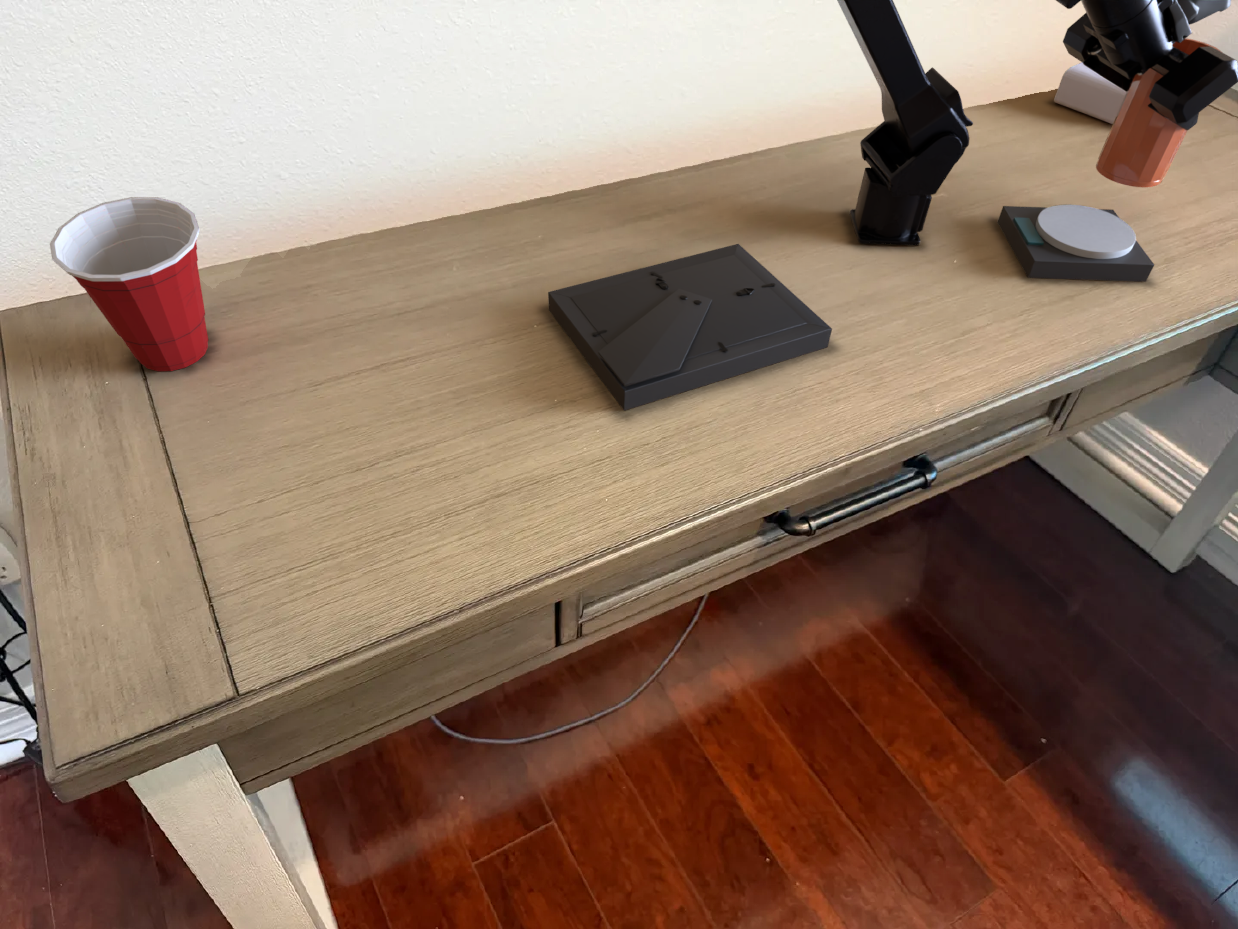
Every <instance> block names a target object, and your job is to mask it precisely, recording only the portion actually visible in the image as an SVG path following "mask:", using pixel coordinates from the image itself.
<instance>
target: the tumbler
mask: <svg viewBox="0 0 1238 929" xmlns="http://www.w3.org/2000/svg"><path fill="white" fill-rule="evenodd" d="M1173 46H1174V47H1176V48H1177V49H1179V50H1181V51H1183V52H1184V53H1186V54H1188V55H1190V54H1191V53H1192V52H1194V51H1195V50H1196V49H1197V48H1199V47H1209V46H1211V47H1213V48H1215V49H1217V50H1218V51H1220V52H1222V53H1224V52H1223V51H1221V50H1220V49H1219V48H1218V47H1216V46H1214V45H1211V44H1209V43H1207V42H1204V41H1200V40H1196V39H1194V38H1193V39H1192V38H1188V37H1187V38H1185V39H1184V40H1183V41H1182V42H1180V43H1178V42H1177V41H1176V42H1175V43H1174V44H1173ZM1161 77H1163V76H1162V75H1161V74H1159V73H1157V72H1156V71H1154V70H1152V69H1151V68H1150V69H1149V70H1148V71H1147V72H1146V73H1144V74H1143V75H1138V74H1136V75H1135V76H1134V77H1133V78H1132V81H1131V83H1130V85H1129V88H1128V90H1127V92H1126V95H1125V97H1124V99H1123V102H1122V104H1121V106H1120V109H1119V111H1118V113H1117V116H1116V118H1115V120H1114V123H1113V124H1111V128H1110V129H1109V132H1108V135H1107V137H1106V139H1105V141H1104V143H1103V147H1102V148H1101V151H1100V153H1099V156H1098V158H1097V161H1096V164H1095V169H1096V171H1097V173H1099V174H1100V175H1101V176H1103V177H1104V178H1106V179H1107V180H1110V181H1112V182H1114V183H1117V184H1120V185H1123V186H1127V187H1133V188H1153V187H1157V186H1159V185H1160V184H1161V183H1162V182H1163V180H1164V178H1165V177H1166V176H1167V173H1168V171H1169V169H1170V168H1171V165H1172V163H1173V161H1174V159H1175V157H1176V155H1177V153H1178V151H1179V149H1180V147H1181V146H1182V143H1183V141H1184V139H1185V136H1186V135H1187V132H1188V131H1189V130H1185V129H1183V128H1182V127H1180V126H1178V125H1177V124H1175V123H1173V122H1172V121H1170V120H1168V119H1167V118H1165V117H1163V116H1161V115H1160V114H1158V113H1157V112H1155V111H1154V110H1152V109H1151V108H1149V107H1148V105H1149V104H1150V103H1151V101H1150V98H1149V95H1150V93H1151V90H1152V88H1153V86H1154V84H1155V82H1157V81H1158V80H1159V79H1160V78H1161Z"/></svg>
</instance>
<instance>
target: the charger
mask: <svg viewBox="0 0 1238 929" xmlns="http://www.w3.org/2000/svg"><path fill="white" fill-rule="evenodd" d="M1056 90H1057V91H1056V92H1055V96H1054V99H1053V102H1054V103H1056V104H1059V105H1060V106H1064V107H1065V108H1068V109H1071V110H1073V111H1076V112H1079V113H1082V114H1085V115H1087V116H1090V117H1092V118H1095V119H1097V120H1100V121H1103V122H1105V123H1107V124H1108V123H1109V124H1111V125H1113V123H1114V120H1115V118H1116V116H1117V113H1118V111H1119V109H1120V106H1121V104H1122V102H1123V99H1124V97H1125V95H1126V91H1124V90H1123V89H1121V88H1120V87H1118V86H1116V85H1115V84H1113V83H1112V82H1110V81H1108V80H1107V79H1105V78H1103V77H1102V76H1100V75H1099V74H1097V73H1096V72H1094V71H1092V70H1091V69H1089V68H1088V67H1086V66H1085V65H1084V64H1083V63H1082V62H1081V61H1080V62H1079V63H1077V64H1075V65H1072V66H1070V67H1069V68H1067V69H1066V70H1065V71H1064V73H1063V75H1062V77H1061V79H1060V82H1059V85H1058V87H1057V89H1056Z"/></svg>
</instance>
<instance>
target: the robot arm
mask: <svg viewBox="0 0 1238 929" xmlns="http://www.w3.org/2000/svg"><path fill="white" fill-rule="evenodd" d="M1055 1H1056V2H1057V3H1059V4H1060V5H1062V6H1063V7H1064V8H1066V9H1067V10H1072V9H1073V8H1074V7H1075V6H1077V4H1079V3H1080V2H1081V4H1082V5H1083V6H1082V7H1083V9H1084V11H1085V13H1084V14H1083V15H1082V16H1080V17H1079V18H1078V19H1077V20H1075V22H1074V23H1072V24H1071V25H1070V26H1069V27H1068V28H1066V31H1065V34H1064V37H1063V39H1062V43H1063V45H1064V47H1065V48H1066V51H1067V53H1068V54H1069V56H1071V57H1073V58H1075V59H1076V60H1077V61H1079V62H1080V63H1081V62H1082V63H1083V64H1084V65H1085V66H1086V67H1088V68H1089V69H1091V70H1092V71H1094V72H1096V73H1097V74H1099V75H1100V76H1102V77H1103V78H1105V79H1107V80H1108V81H1110V82H1112V83H1113V84H1115V85H1116V86H1118V87H1120V88H1121V89H1123V90H1124V91H1126V92H1127V90H1128V88H1129V85H1130V83H1131V81H1132V78H1133V77H1134V76H1135V75H1136V74H1138V75H1143V74H1144V73H1146V72H1147V71H1148V70H1149V69H1150V68H1151V69H1152V70H1154V71H1156V72H1157V73H1159V74H1161V75H1162V76H1163V77H1161V78H1160V79H1159V80H1158V81H1157V82H1155V84H1154V86H1153V88H1152V90H1151V93H1150V95H1149V98H1150V101H1151V103H1150V104H1149V105H1148V107H1149V108H1151V109H1152V110H1154V111H1155V112H1157V113H1158V114H1160V115H1161V116H1163V117H1165V118H1167V119H1168V120H1170V121H1172V122H1173V123H1175V124H1177V125H1178V126H1180V127H1182V128H1183V129H1185V130H1188V131H1189V130H1191V129H1192V128H1193V127H1195V126H1196V125H1197V124H1198V120H1199V114H1200V112H1202V111H1203V110H1205V109H1206V108H1207V107H1208V106H1209V105H1211V104H1212V103H1214V101H1216V100H1217V99H1218V98H1220V97H1221V96H1222V95H1223V94H1225V93H1226V92H1227V91H1229V90H1230V89H1231V88H1232V87H1234V86H1235V85H1236V84H1238V61H1237V59H1236V58H1233V57H1231V56H1230V55H1228V54H1226V53H1224V52H1223V51H1221V50H1220V51H1221V52H1220V51H1218V50H1217V49H1215V48H1213V47H1211V46H1209V47H1199V48H1197V49H1196V50H1195V51H1194V52H1192V53H1191V54H1190V55H1188V54H1186V53H1184V52H1183V51H1181V50H1179V49H1177V48H1176V47H1174V46H1173V44H1174V43H1175V42H1176V41H1177V42H1178V43H1180V42H1182V41H1183V40H1184V39H1185V38H1188V37H1190V35H1191V34H1192V33H1193V32H1192V30H1191V27H1190V25H1193V24H1196V23H1198V22H1200V21H1201V20H1204V19H1206V18H1208V17H1209V16H1212V15H1214V14H1216V13H1217V12H1219V13H1221V12H1223V11H1226V10H1228V9H1229V8H1230V7H1231V5H1232V0H1055ZM837 3H838V6H839V7H840V9H841V12H842V13H843V15H844V17H845V19H846V21H847V24H848V26H849V28H850V30H851V32H852V34H853V36H854V38H855V39H856V42H857V44H858V46H859V48H860V50H861V52H862V54H863V56H864V57H865V61H866V62H867V65H868V67H869V68H870V70H871V72H872V74H873V76H874V79H875V80H876V82H877V85H878V87H879V89H880V95H881V112H882V113H881V114H882V117H883V121H882V122H881V123H880V124H878V125H877V126H876V127H875V128H874V129H873V130H872V131H871V132H869V133H868V134H867V135H866V136H865V137H864V138H862V139H861V140H860V142H859V145H860V153H861V159H863V161H864V162H866V163H867V164H868V165H869V167H864V170H863V175H862V179H861V183H860V188H859V192H858V196H857V200H856V205H855V208H852V209H850V210H849V213H848V214H849V217H850V221H851V224H852V227H853V230H854V233H855V236H856V239H857V241H858V243H859V244H863V245H888V246H889V245H893V246H919V245H921V241H922V239H921V236H920V235H919V233H921V232H922V231H923V230H924V227H925V223H926V219H927V216H928V213H929V209H930V206H931V203H932V199H933V197H932V195H936V194H937V192H938V191H939V189H940V188H941V186H942V184H944V182H945V180H946V179H947V177H948V176H949V174H950V172H951V171H952V170H953V168H954V166H955V165H956V164H957V163H958V162H959V160H960V159H961V158H962V156H963V155H964V154H965V151H966V149H967V148H968V147H969V145H970V132H969V130H968V127H972V126H973V125H974V121H972V120H971V119H970V118H969V117H968V116H967V115H966V113H965V111H964V108H963V101H962V98H961V95H960V92H959V91H958V89H957V88H956V87H954V86H953V85H952V83H950V82H949V81H948V80H947V79H946V78H945V77H944V75H942V74H940V72H938V71H937V70H936V69H935V68H934V67H931V68H930V69H929V70H927V71H926V72H925V69H924V67H923V65H922V63H921V60H920V58H919V56H918V54H917V52H916V48H915V46H914V45H913V42H912V41H911V40H912V39H910V36H909V33H908V30H907V29H906V27H905V25H904V22H903V20H902V17H901V16H900V13H899V11H898V9H897V7H896V4H895V2H894V0H837ZM1222 52H1223V53H1222Z"/></svg>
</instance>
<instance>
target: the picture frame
mask: <svg viewBox="0 0 1238 929" xmlns="http://www.w3.org/2000/svg"><path fill="white" fill-rule="evenodd" d="M547 298H548V299H547V302H548V303H547V304H548V312H549V313H550V314H551V315H552V317H553V318H554V319H555V321H556V322H557V323H558V325H559V326H560V328H561V329H562V331H563V332H564V333H565V335H566V336H567V337H568V338H569V340H570V341H571V342H572V343H573V345H574V346H575V348H576V349H577V350H578V351H579V353H580V354H581V356H582V357H583V358H584V359H585V361H586V362H587V363H588V364H589V366H590V367H591V369H592V370H593V372H594V373H595V374H596V375H597V377H598V378H599V379H600V381H601V383H603V385H604V386H605V387H606V389H607V390H608V392H609V393H610V394H611V395H612V397H613V398H614V399H615V401H616V402H617V403H618V405H619V406H620V408H621V409H622V410H623V412H624V411H628V410H632V409H634V408H638V407H640V406H643V405H648V404H651V403H654V402H656V401H660V400H663V399H666V398H670V397H672V396H675V395H676V396H677V395H679V394H683V393H686V392H688V391H692V390H695V389H698V388H701V387H705V386H708V385H711V384H714V383H718V382H721V381H725V380H727V379H730V378H733V377H737V376H740V375H744V374H747V373H749V372H753V371H756V370H759V369H762V368H766V367H768V366H772V365H775V364H778V363H781V362H785V361H788V360H792V359H794V358H798V357H801V356H804V355H807V354H811V353H814V352H817V351H820V350H824V349H826V348H828V347H829V343H830V339H831V335H832V330H833V328H832V327H831V326H830V325H829V324H827V323H826V322H825V321H824V320H823V318H821V317H820V316H819V315H818V314H817V313H816V312H815V311H813V310H812V309H811V308H810V307H809V306H808V305H807V304H805V302H804V301H802V300H801V299H800V298H799V297H798V296H797V295H796V294H795V293H793V291H792V290H790V289H789V288H788V287H787V286H786V285H784V284H783V283H782V282H781V281H780V279H778V278H777V277H776V276H775V275H774V274H772V273H771V272H770V271H769V270H768V269H767V268H766V267H765V266H764V265H763V264H762V263H761V262H759V261H758V260H757V259H756V258H755V257H754V256H753V255H751V253H749V252H748V251H747V250H746V249H745V248H744V247H743V246H742V245H740V244H739V243H736V244H731V245H728V246H724V247H719V248H716V249H712V250H708V251H704V252H700V253H695V254H692V255H687V256H684V257H680V258H676V259H671V260H668V261H664V262H661V263H660V262H659V263H655V264H652V265H649V266H644V267H640V268H637V269H633V270H629V271H625V272H621V273H617V274H613V275H609V276H606V277H600V278H598V279H593V280H590V281H586V282H582V283H581V282H580V283H577V284H574V285H570V286H566V287H561V288H558V289H554V290H550V291H548V292H547Z"/></svg>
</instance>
